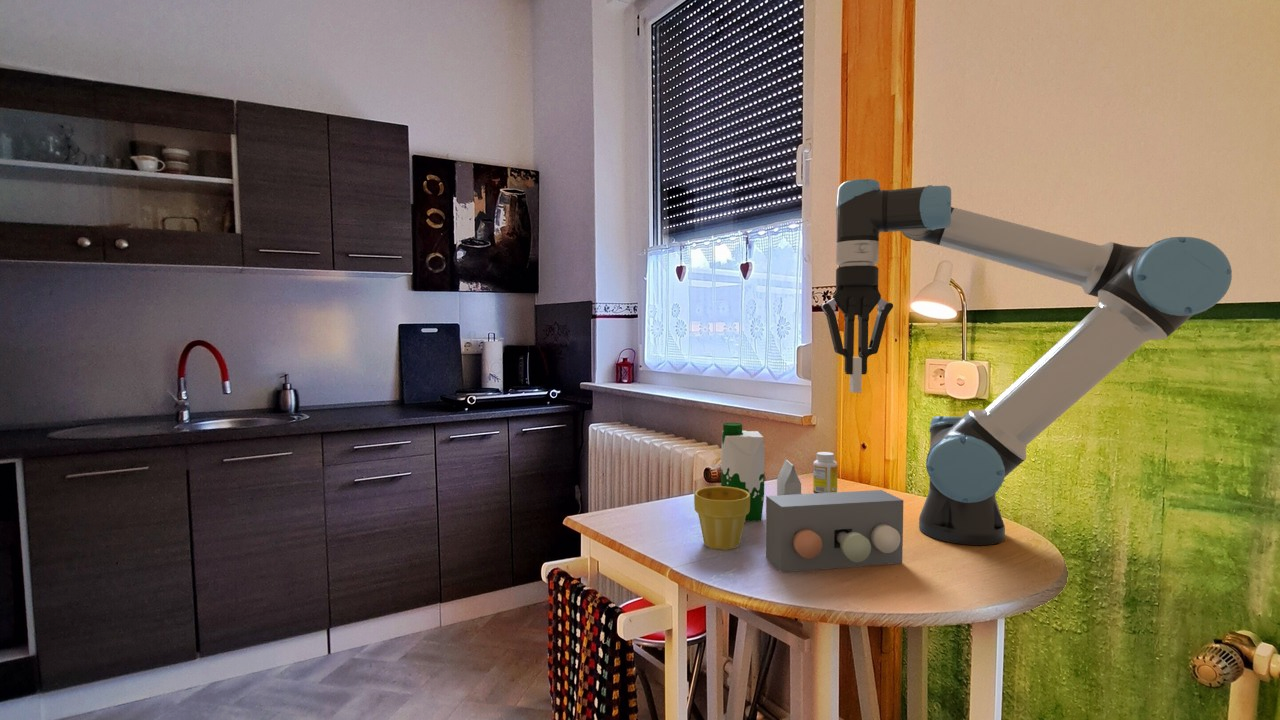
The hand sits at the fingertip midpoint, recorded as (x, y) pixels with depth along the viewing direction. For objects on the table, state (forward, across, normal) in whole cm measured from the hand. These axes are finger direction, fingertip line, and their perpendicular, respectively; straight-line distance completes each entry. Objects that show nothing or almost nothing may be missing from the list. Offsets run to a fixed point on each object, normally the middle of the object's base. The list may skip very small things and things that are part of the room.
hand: (855, 391), depth 122 cm
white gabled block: (+29, -9, +23) cm, 38 cm away
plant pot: (+29, -25, -4) cm, 38 cm away
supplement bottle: (+29, +1, +33) cm, 44 cm away
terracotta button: (+26, -12, -16) cm, 32 cm away
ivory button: (+26, +1, -12) cm, 28 cm away
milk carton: (+29, -20, +14) cm, 38 cm away
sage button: (+26, -5, -17) cm, 31 cm away
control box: (+28, -6, -11) cm, 31 cm away
